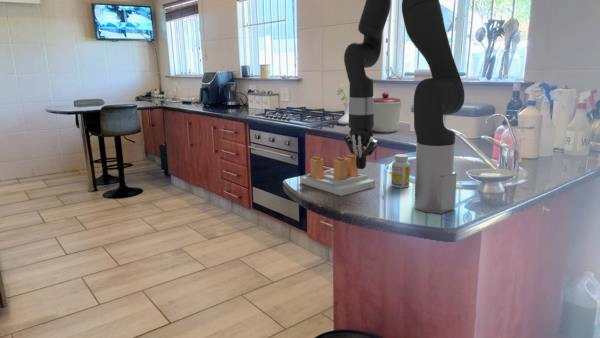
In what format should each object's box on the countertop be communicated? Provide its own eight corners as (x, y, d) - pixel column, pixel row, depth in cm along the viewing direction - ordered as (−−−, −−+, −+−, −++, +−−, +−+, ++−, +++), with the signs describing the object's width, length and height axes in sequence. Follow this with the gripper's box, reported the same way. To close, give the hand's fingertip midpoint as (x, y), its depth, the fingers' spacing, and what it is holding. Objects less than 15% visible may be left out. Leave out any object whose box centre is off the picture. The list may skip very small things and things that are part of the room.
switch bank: (374, 186, 133) (375, 176, 132) (341, 196, 125) (341, 184, 124) (333, 175, 148) (333, 165, 147) (301, 183, 140) (301, 172, 139)
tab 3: (357, 176, 137) (357, 155, 135) (350, 177, 135) (350, 157, 134) (351, 174, 139) (351, 154, 138) (344, 176, 138) (344, 155, 136)
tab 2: (347, 178, 134) (347, 158, 133) (340, 180, 133) (340, 159, 131) (340, 176, 137) (340, 156, 135) (333, 178, 135) (333, 158, 133)
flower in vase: (346, 122, 276) (346, 82, 270) (360, 124, 267) (360, 82, 261) (332, 124, 268) (331, 83, 262) (345, 126, 259) (345, 84, 253)
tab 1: (323, 177, 136) (323, 157, 135) (316, 179, 135) (316, 158, 133) (317, 175, 139) (317, 155, 137) (310, 177, 137) (309, 157, 135)
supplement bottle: (394, 188, 131) (395, 157, 128) (389, 183, 136) (389, 154, 134) (411, 187, 131) (412, 156, 129) (405, 183, 136) (406, 153, 134)
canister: (407, 130, 237) (409, 91, 232) (390, 135, 224) (390, 94, 219) (379, 128, 249) (380, 91, 244) (361, 132, 236) (361, 93, 231)
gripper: (386, 112, 126) (385, 170, 130) (354, 109, 136) (354, 163, 141) (368, 115, 122) (367, 174, 126) (337, 111, 132) (337, 166, 136)
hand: (360, 168), depth 133 cm, fingers closed
